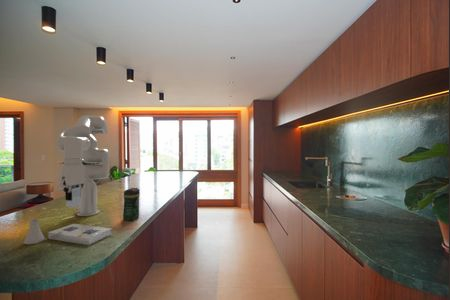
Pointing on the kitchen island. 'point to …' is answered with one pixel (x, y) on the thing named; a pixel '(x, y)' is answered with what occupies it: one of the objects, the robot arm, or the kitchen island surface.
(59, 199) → the kitchen island surface
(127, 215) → the coffee jar
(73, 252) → the kitchen island surface
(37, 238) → the flask
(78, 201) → the plug
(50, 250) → the kitchen island surface
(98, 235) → the panel
